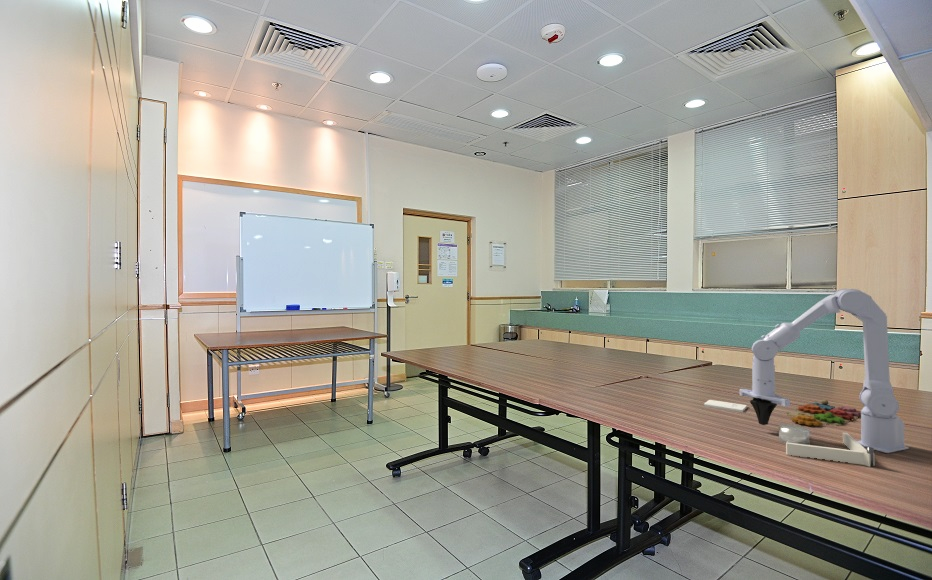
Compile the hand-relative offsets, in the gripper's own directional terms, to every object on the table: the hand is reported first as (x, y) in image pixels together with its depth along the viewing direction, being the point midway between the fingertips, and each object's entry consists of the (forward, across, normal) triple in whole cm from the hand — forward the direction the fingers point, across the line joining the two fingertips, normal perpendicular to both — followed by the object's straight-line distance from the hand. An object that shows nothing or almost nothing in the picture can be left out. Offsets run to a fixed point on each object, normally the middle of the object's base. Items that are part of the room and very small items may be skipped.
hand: (763, 424), depth 135 cm
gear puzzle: (+3, -5, +32) cm, 32 cm away
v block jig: (+2, +22, 0) cm, 22 cm away
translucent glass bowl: (+2, +9, 0) cm, 9 cm away
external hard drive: (+3, -25, +14) cm, 29 cm away
